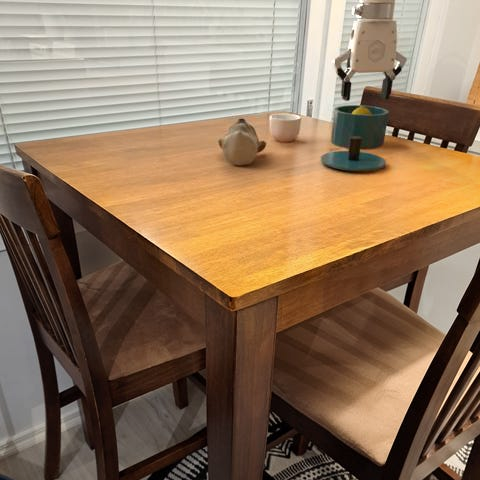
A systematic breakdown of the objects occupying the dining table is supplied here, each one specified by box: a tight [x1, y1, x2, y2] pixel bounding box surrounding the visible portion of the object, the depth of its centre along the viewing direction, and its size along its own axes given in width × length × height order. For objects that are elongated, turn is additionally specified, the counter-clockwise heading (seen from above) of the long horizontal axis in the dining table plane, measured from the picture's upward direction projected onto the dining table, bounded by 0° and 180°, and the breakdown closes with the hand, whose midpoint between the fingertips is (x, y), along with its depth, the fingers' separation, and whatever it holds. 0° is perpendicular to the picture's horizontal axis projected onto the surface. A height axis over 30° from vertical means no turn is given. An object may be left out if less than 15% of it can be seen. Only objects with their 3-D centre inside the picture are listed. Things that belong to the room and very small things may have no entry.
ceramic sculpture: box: [217, 117, 267, 167], centre depth 106 cm, size 11×9×15 cm
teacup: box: [268, 113, 302, 143], centre depth 123 cm, size 10×8×5 cm
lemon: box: [352, 105, 372, 115], centre depth 119 cm, size 6×6×8 cm
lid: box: [320, 136, 387, 172], centre depth 104 cm, size 14×14×6 cm
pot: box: [330, 104, 390, 150], centre depth 120 cm, size 13×13×8 cm
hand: (365, 99), depth 116 cm, fingers open, 9 cm apart
